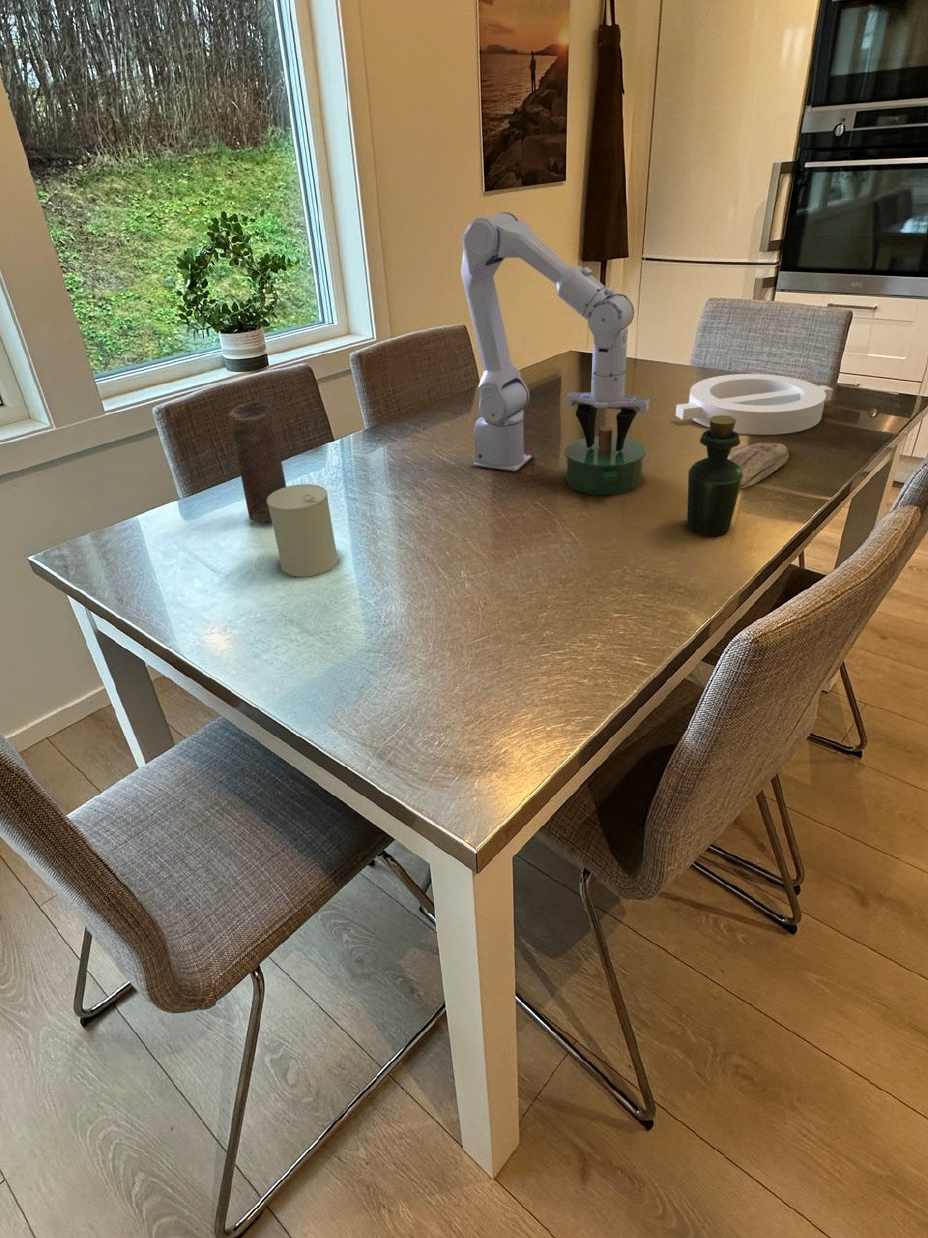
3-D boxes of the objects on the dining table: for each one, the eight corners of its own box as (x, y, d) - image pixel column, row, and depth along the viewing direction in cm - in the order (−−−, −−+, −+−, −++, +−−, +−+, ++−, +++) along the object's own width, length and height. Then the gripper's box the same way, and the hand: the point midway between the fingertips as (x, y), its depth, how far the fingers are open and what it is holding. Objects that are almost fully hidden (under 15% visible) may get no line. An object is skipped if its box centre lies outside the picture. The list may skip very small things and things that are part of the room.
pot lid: (567, 472, 131) (568, 444, 128) (561, 443, 143) (562, 417, 140) (651, 469, 130) (653, 441, 127) (638, 440, 142) (640, 413, 139)
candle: (300, 511, 135) (279, 402, 124) (279, 529, 129) (255, 416, 119) (264, 507, 137) (240, 400, 127) (242, 524, 132) (215, 413, 121)
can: (312, 582, 113) (298, 510, 107) (268, 569, 117) (252, 499, 111) (350, 556, 120) (339, 486, 113) (307, 544, 124) (294, 477, 117)
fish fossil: (748, 499, 129) (749, 492, 128) (692, 491, 134) (692, 485, 134) (795, 448, 145) (795, 443, 145) (742, 444, 151) (743, 438, 150)
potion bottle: (671, 523, 122) (683, 416, 113) (711, 513, 125) (726, 407, 115) (703, 544, 116) (718, 432, 106) (745, 532, 119) (763, 422, 109)
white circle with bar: (832, 402, 168) (837, 380, 166) (806, 442, 149) (810, 418, 147) (709, 389, 182) (711, 369, 179) (670, 424, 162) (672, 402, 160)
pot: (570, 502, 132) (571, 473, 129) (563, 462, 147) (563, 436, 144) (648, 500, 131) (650, 470, 128) (632, 460, 147) (634, 433, 144)
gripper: (560, 374, 128) (559, 450, 136) (643, 381, 122) (637, 459, 130) (575, 364, 133) (573, 437, 141) (655, 370, 127) (648, 446, 135)
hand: (604, 447), depth 136 cm, fingers open, 5 cm apart
